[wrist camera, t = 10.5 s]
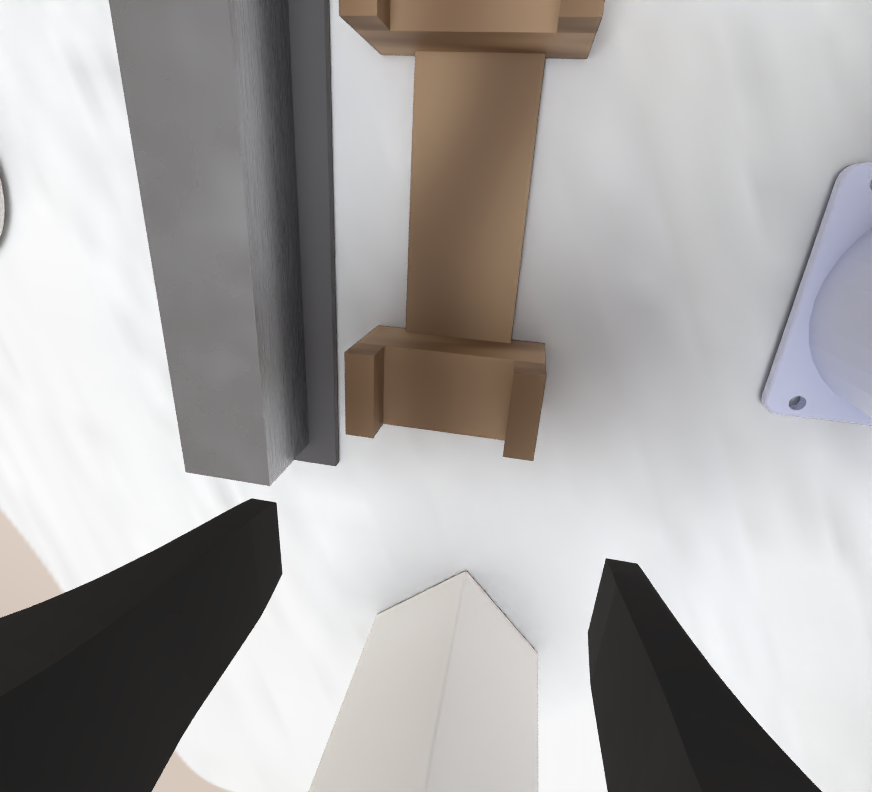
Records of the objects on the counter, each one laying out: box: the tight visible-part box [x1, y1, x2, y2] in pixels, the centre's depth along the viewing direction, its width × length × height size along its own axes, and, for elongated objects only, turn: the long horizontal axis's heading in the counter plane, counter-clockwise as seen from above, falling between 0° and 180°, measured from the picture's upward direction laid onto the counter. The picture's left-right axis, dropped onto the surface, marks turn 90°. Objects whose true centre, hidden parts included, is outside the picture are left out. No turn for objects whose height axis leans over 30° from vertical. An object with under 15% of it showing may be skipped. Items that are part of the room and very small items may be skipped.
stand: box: [339, 0, 605, 461], centre depth 15 cm, size 6×16×4 cm, turn 177°
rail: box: [109, 0, 309, 486], centre depth 16 cm, size 4×20×4 cm, turn 177°
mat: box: [288, 0, 339, 466], centre depth 18 cm, size 6×22×1 cm, turn 177°
